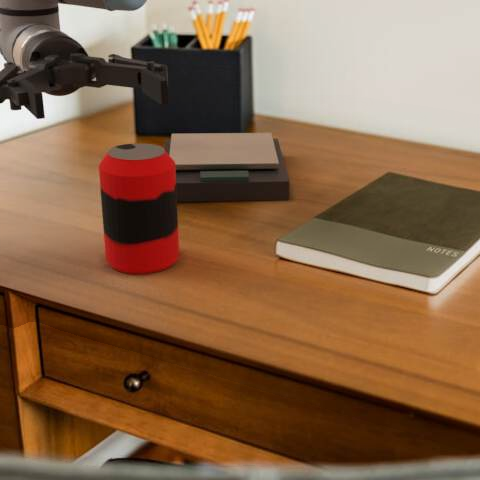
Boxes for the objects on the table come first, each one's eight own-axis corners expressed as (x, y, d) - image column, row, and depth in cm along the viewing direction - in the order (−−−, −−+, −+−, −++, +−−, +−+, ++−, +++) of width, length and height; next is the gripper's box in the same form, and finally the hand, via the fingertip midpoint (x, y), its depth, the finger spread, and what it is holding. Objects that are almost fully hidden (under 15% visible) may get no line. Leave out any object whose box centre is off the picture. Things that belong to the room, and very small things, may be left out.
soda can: (153, 240, 100) (147, 136, 96) (193, 261, 95) (189, 153, 91) (92, 258, 95) (83, 149, 91) (131, 281, 90) (123, 167, 86)
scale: (160, 202, 111) (158, 178, 110) (165, 156, 129) (164, 135, 127) (289, 199, 114) (289, 176, 113) (277, 154, 131) (277, 134, 130)
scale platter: (168, 170, 114) (168, 164, 114) (171, 138, 127) (171, 133, 126) (278, 168, 116) (278, 162, 116) (271, 138, 129) (271, 132, 129)
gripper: (149, 80, 121) (212, 119, 105) (-50, 100, 109) (-13, 147, 92) (145, 24, 118) (210, 55, 102) (-60, 37, 106) (-23, 75, 89)
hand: (104, 99), depth 97 cm, fingers open, 13 cm apart
